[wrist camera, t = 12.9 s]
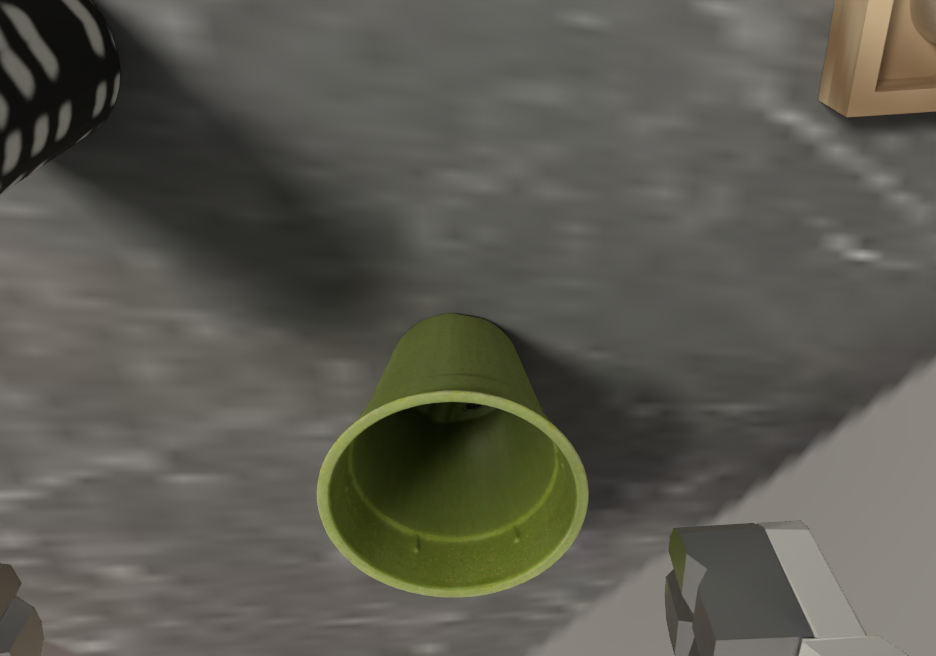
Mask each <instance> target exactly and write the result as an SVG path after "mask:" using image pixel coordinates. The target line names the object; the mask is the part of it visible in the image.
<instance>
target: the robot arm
mask: <svg viewBox="0 0 936 656" xmlns="http://www.w3.org/2000/svg"><path fill="white" fill-rule="evenodd" d="M669 554H670V557H671V561H672V564H673V567H674V569H673V571H671V573H669V574H668V575H667V576H666V585H665V607H666V619H667V625H668V630H669V636H670V640H671V644H672V647H673V651H674V655H675V656H909V655H907V654H906V653H905V652H903V651H902V650H900V649H899V648H898V647H896V646H895V645H893V644H892V643H891V642H889V641H888V640H886V639H885V638H884V637H882V636H867V634H866V632H865V631H864V629H863V627H862V625H861V623H860V621H859V620H858V618H857V616H856V614H855V612H854V610H853V609H852V607H851V605H850V603H849V601H848V599H847V598H846V596H845V594H844V593H843V590H842V589H841V587H840V585H839V583H838V581H837V579H836V577H835V576H834V574H833V572H832V570H831V568H830V567H829V565H828V563H827V561H826V559H825V557H824V556H823V554H822V552H821V550H820V548H819V547H818V545H817V543H816V541H815V539H814V537H813V536H812V534H811V532H810V530H809V528H808V527H807V526H806V525H805V524H804V523H803V522H801V521H785V522H767V523H757V524H754V523H748V524H732V525H715V526H699V527H682V528H673V531H672V533H671V535H670V543H669ZM21 584H22V582H21V581H20V579H19V578H18V576H17V574H16V573H15V571H14V569H13V568H12V566H11V565H10V564H1V563H0V656H41V652H42V647H43V642H44V634H43V627H42V621H41V619H40V617H39V615H38V613H37V611H36V609H35V607H33V606H32V605H30V604H28V603H27V602H25V601H24V600H22V599H21V598H19V597H17V596H16V595H17V593H18V590H19V588H20V586H21Z"/></svg>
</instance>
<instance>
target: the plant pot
mask: <svg viewBox="0 0 936 656" xmlns="http://www.w3.org/2000/svg"><path fill="white" fill-rule="evenodd" d="M469 403H475V404H481V406H479V407H476V408H473V409H468V408H467V405H468V404H469ZM452 412H453V414H452ZM588 496H589V490H588V481H587V476H586V472H585V469H584V466H583V464H582V462H581V459H580V457H579V455H578V453H577V452H576V450H575V448H574V447H573V445H572V444H571V443H570V441H569V440H568V439H567V438H566V436H565V435H564V434H563V433H562V432H561V431H560V430H559V429H558V428H557V427H556V426H555V425H553V424H552V423H551V422H550V420H549V419H548V417H547V416H546V415H545V414H544V412H543V411H542V409H541V406H540V404H539V402H538V400H537V397H536V395H535V393H534V391H533V388H532V386H531V384H530V382H529V379H528V377H527V375H526V372H525V370H524V368H523V365H522V363H521V361H520V358H519V356H518V354H517V352H516V350H515V347H514V345H513V343H512V342H511V340H510V339H509V338H508V336H507V335H506V334H505V333H504V332H503V331H502V330H501V329H499V328H498V327H497V326H495V325H494V324H493V323H491V322H489V321H487V320H485V319H482V318H476V317H470V316H465V315H459V314H453V313H450V314H442V315H438V316H434V317H430V318H428V319H425V320H423V321H421V322H419V323H418V324H416V325H415V326H413V327H412V328H411V329H409V330H408V331H407V332H406V333H405V334H404V335H403V337H402V338H401V339H400V341H399V342H398V344H397V346H396V347H395V349H394V351H393V353H392V355H391V358H390V360H389V362H388V364H387V366H386V368H385V370H384V373H383V375H382V377H381V379H380V381H379V383H378V385H377V387H376V389H375V391H374V393H373V395H372V397H371V399H370V401H369V403H368V406H367V408H366V409H365V410H364V411H363V412H362V414H361V415H360V416H359V418H358V419H357V420H356V421H355V422H354V423H353V424H351V425H350V426H349V427H348V428H347V429H346V430H345V431H344V432H343V433H342V434H341V435H340V436H339V438H338V439H337V440H336V441H335V443H334V444H333V446H332V447H331V449H330V450H329V452H328V454H327V456H326V458H325V460H324V462H323V464H322V467H321V470H320V474H319V478H318V484H317V504H318V510H319V513H320V517H321V520H322V523H323V525H324V528H325V530H326V532H327V534H328V536H329V537H330V539H331V540H332V542H333V543H334V545H335V546H336V547H337V548H338V550H339V551H340V552H341V553H342V554H343V555H344V556H345V557H346V558H347V559H348V560H349V561H350V562H351V563H352V564H353V565H355V566H356V567H357V568H358V569H360V570H361V571H363V572H364V573H366V574H367V575H369V576H371V577H373V578H374V579H376V580H378V581H381V582H383V583H385V584H387V585H390V586H392V587H395V588H398V589H401V590H405V591H408V592H413V593H417V594H422V595H428V596H436V597H471V596H480V595H485V594H490V593H495V592H499V591H502V590H505V589H509V588H512V587H514V586H516V585H519V584H521V583H524V582H526V581H528V580H530V579H532V578H534V577H536V576H538V575H539V574H540V573H542V572H543V571H545V570H546V569H548V568H549V567H551V566H552V565H553V564H554V563H555V562H556V561H557V560H558V559H559V558H560V557H561V556H562V555H563V554H564V553H565V552H566V551H567V550H568V549H569V547H570V546H571V545H572V543H573V542H574V540H575V539H576V537H577V535H578V533H579V532H580V530H581V527H582V525H583V522H584V519H585V516H586V513H587V507H588Z"/></svg>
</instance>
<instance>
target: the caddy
mask: <svg viewBox="0 0 936 656" xmlns="http://www.w3.org/2000/svg"><path fill="white" fill-rule="evenodd" d="M818 100H819V101H821V102H822V103H824V104H825V105H827V106H829V107H830V108H832V109H834V110H835V111H837V112H839V113H840V114H842V115H843V116H845V117H860V116H875V115H890V114H905V113H920V112H935V111H936V44H934V43H931V42H929V41H927V40H926V39H924V38H923V37H922V36H921V35H920V34H919V33H918V32H917V31H916V29H915V27H914V25H913V23H912V20H911V16H910V0H835V4H834V10H833V16H832V22H831V28H830V34H829V40H828V46H827V52H826V57H825V63H824V69H823V75H822V81H821V87H820V93H819V99H818Z"/></svg>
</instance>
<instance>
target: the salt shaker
mask: <svg viewBox="0 0 936 656" xmlns="http://www.w3.org/2000/svg"><path fill="white" fill-rule="evenodd" d="M910 16H911V20H912V23H913V25H914V27H915V29H916V31H917V32H918V33H919V34H920V35H921V36H922V37H923V38H924V39H926V40H927V41H929V42H931V43H934V44H936V0H910Z"/></svg>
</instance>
